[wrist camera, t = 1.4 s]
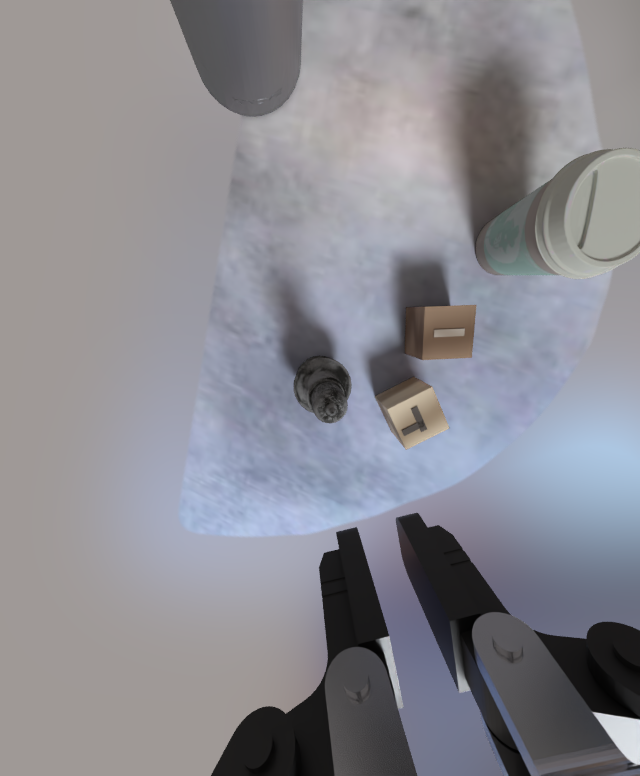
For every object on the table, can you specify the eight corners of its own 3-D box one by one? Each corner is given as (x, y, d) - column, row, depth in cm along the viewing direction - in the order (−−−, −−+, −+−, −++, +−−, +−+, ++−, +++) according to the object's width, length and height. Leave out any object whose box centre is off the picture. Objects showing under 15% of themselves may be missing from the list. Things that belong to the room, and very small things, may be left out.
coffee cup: (497, 183, 31) (619, 106, 19) (555, 234, 33) (698, 192, 21) (446, 258, 32) (531, 228, 21) (504, 304, 34) (613, 299, 23)
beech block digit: (374, 396, 36) (387, 409, 31) (413, 376, 35) (432, 387, 30) (391, 431, 37) (406, 450, 32) (428, 412, 37) (449, 428, 32)
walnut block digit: (405, 307, 33) (425, 306, 28) (450, 305, 34) (476, 304, 29) (404, 353, 35) (422, 360, 30) (447, 351, 35) (472, 357, 30)
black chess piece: (284, 390, 34) (280, 431, 23) (308, 343, 33) (316, 360, 22) (330, 412, 36) (348, 461, 24) (354, 367, 34) (386, 395, 23)
